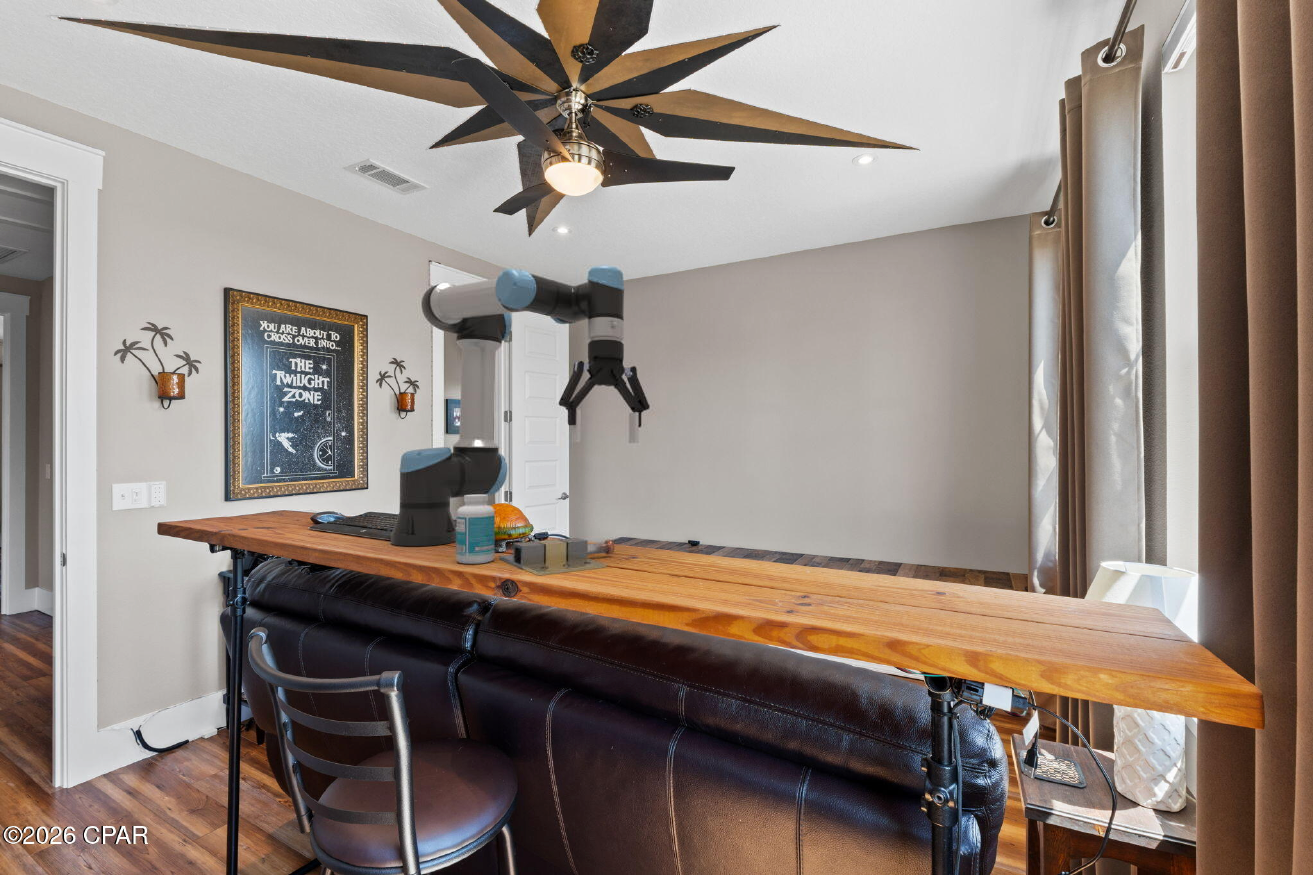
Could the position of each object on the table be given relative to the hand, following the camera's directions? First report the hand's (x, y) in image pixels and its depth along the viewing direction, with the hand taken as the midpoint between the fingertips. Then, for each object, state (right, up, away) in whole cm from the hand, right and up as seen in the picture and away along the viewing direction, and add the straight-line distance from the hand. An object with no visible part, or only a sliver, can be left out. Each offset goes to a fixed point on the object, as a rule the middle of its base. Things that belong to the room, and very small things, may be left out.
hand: (605, 442), depth 121 cm
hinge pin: (-6, -24, -1) cm, 25 cm away
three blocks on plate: (-11, -24, -5) cm, 27 cm away
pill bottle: (-26, -24, -3) cm, 36 cm away
